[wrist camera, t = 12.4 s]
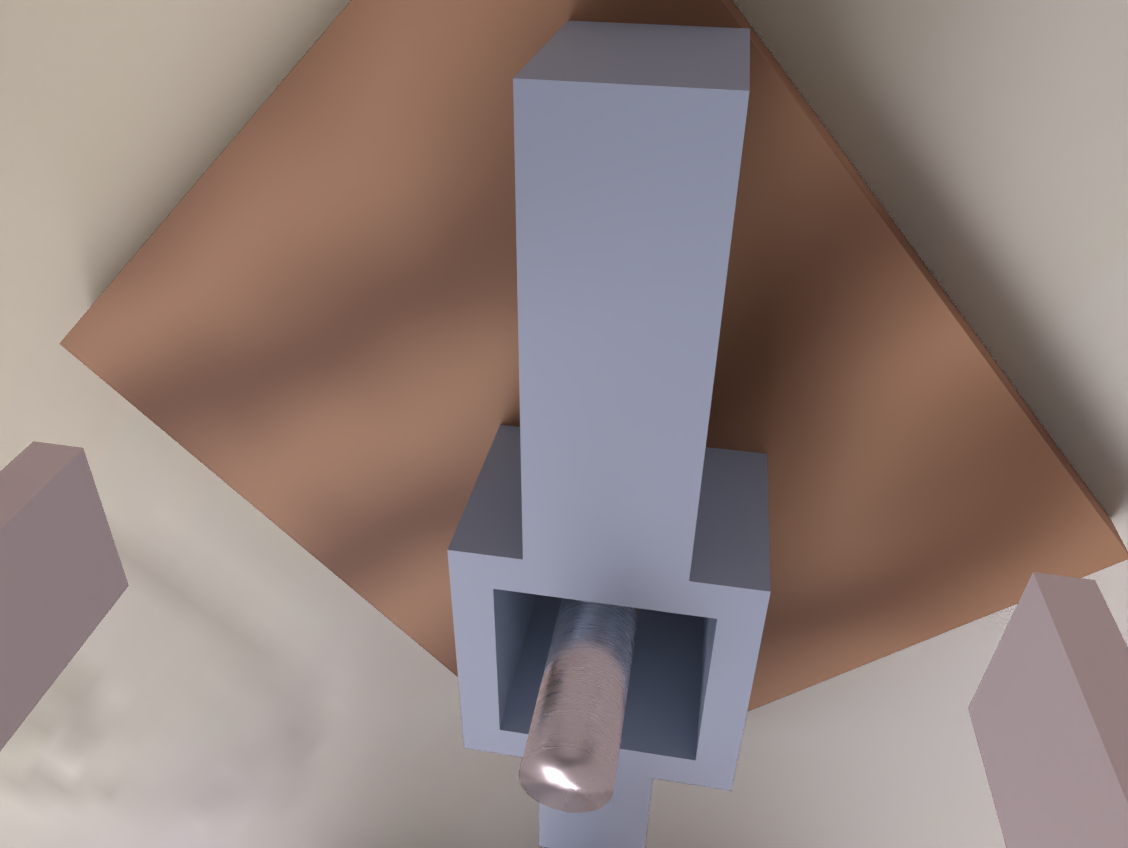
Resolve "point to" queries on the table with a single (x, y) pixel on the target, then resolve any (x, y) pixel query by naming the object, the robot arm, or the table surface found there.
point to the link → (620, 416)
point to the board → (491, 353)
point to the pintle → (580, 707)
